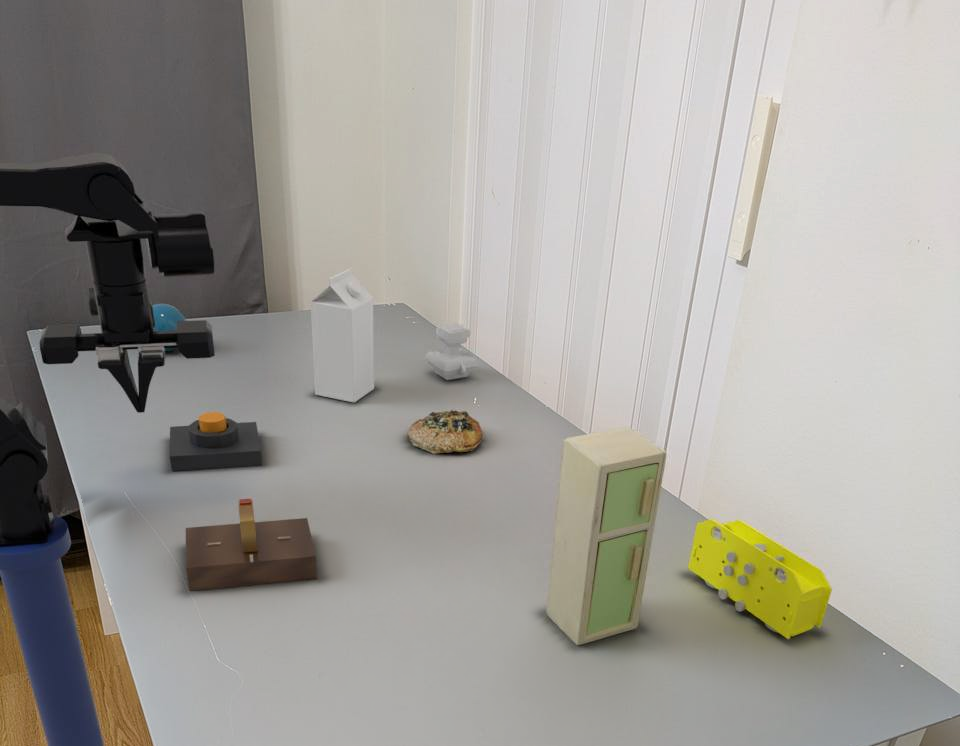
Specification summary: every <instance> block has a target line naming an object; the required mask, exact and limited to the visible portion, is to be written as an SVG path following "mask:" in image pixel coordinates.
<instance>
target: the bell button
mask: <svg viewBox="0 0 960 746" xmlns="http://www.w3.org/2000/svg"><path fill="white" fill-rule="evenodd" d="M226 418H227V417H226V414H224V413H222V412H218V411H217V412H216V411H210V412H209V411H208V412H204V413H202V414H200V415H199V416H198V420H199V425H200V430H201V431H202V432H208V433H213V432H220V431H224V430H226V429H227V425H226Z"/></svg>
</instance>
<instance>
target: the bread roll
mask: <svg viewBox="0 0 960 746" xmlns="http://www.w3.org/2000/svg"><path fill="white" fill-rule="evenodd" d="M407 436H408V440H409V441H410V443H411V444H412V446H413V447H416V448H420V449H421V450H424V451H427V452H429V453H431V454H444V453H447V454H449V453H452V452H456V453H457V452H458V453H465V452H466V453H467V452H473V451H474V450H476V448H477V447H478V446H479V445H480V444H481V443H482V441H483V439H484V434H483V430H482V427H481V425H480V422H479V420H476V419H475V418H473V417H472V416H470V414H469V412H468V411H466V410H462V411H458V410H456V409H451V410H450V411H446V410H445V411H438V412H434V411H432V412H430V413H429V414H428V415H427V416H425V417H424V418H421V419H420V418H419V419H417V420H416V421H414V422H413V423H412V424H411V425H410V427H409V428H408V431H407Z"/></svg>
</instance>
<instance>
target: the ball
mask: <svg viewBox="0 0 960 746" xmlns="http://www.w3.org/2000/svg"><path fill="white" fill-rule="evenodd" d="M152 305H153V312H154V319H155V327H154V331H177V321H187V320H186V318H185V316H184V314H183V313H182V312H181V311H180V310H179V309H178V308H177V307H175V306H173V305H171V304H168V303H154V304H152ZM177 349H178V348H165V352H172V351H175V350H177Z"/></svg>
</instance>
